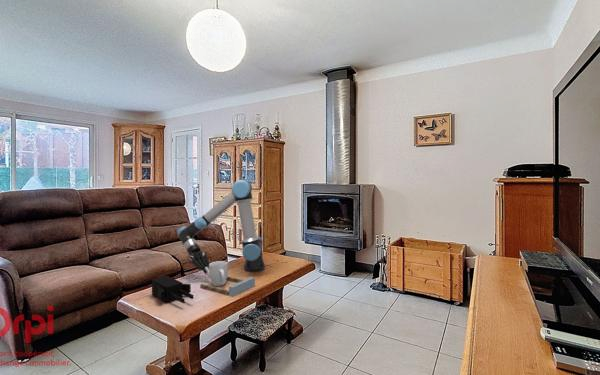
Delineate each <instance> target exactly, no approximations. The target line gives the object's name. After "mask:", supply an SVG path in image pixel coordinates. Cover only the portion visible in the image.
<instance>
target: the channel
mask: <svg viewBox="0 0 600 375" xmlns="http://www.w3.org/2000/svg"><path fill="white" fill-rule="evenodd" d="M243 280H244V279H240V278H236V277H231V276H228V275H227V280H226V282H227V281H228V282H231V283H235V284H236V283H238V282H241V281H243ZM199 287H200V289H203V290H206V291H210V292H212V293H213V292H214V293H217V294H221V295H225V296H229V289H228V290H227V289H223V288H219V287H217V286H212V285H209V284H204V283H201V284H200V286H199Z"/></svg>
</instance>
